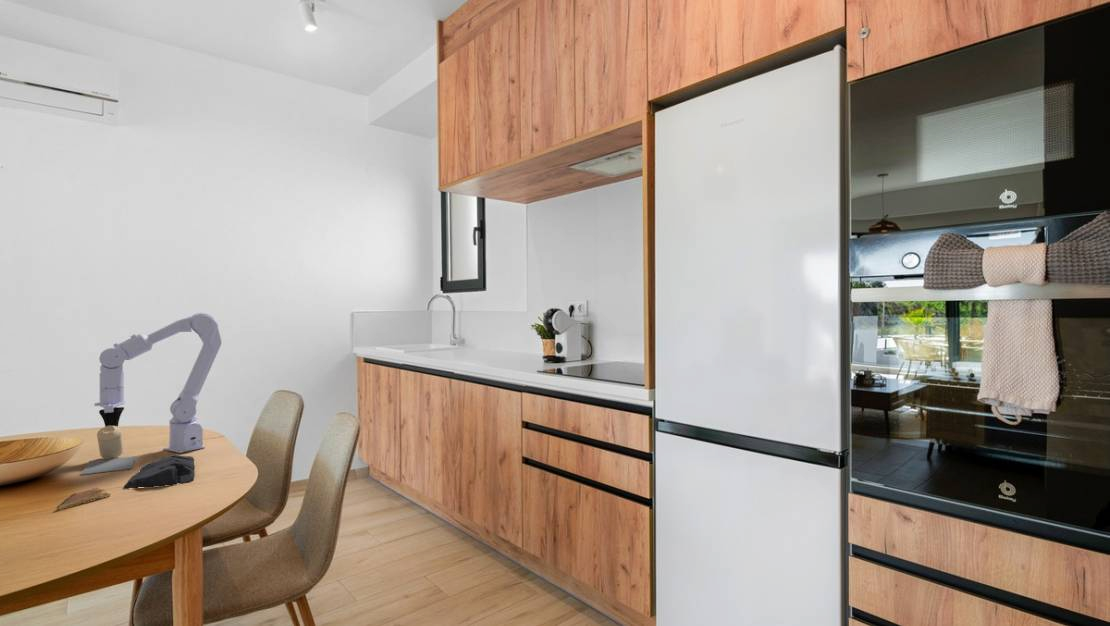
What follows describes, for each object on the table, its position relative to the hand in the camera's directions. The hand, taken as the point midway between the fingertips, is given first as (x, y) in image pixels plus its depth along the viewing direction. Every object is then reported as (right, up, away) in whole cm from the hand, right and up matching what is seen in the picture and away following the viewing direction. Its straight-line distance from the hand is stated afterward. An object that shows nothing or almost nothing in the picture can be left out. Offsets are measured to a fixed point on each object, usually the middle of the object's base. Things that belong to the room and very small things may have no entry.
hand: (111, 432), depth 167 cm
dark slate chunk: (+27, -9, -16) cm, 33 cm away
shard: (+23, -9, -36) cm, 43 cm away
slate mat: (+6, -8, -8) cm, 13 cm away
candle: (0, -6, 0) cm, 6 cm away
